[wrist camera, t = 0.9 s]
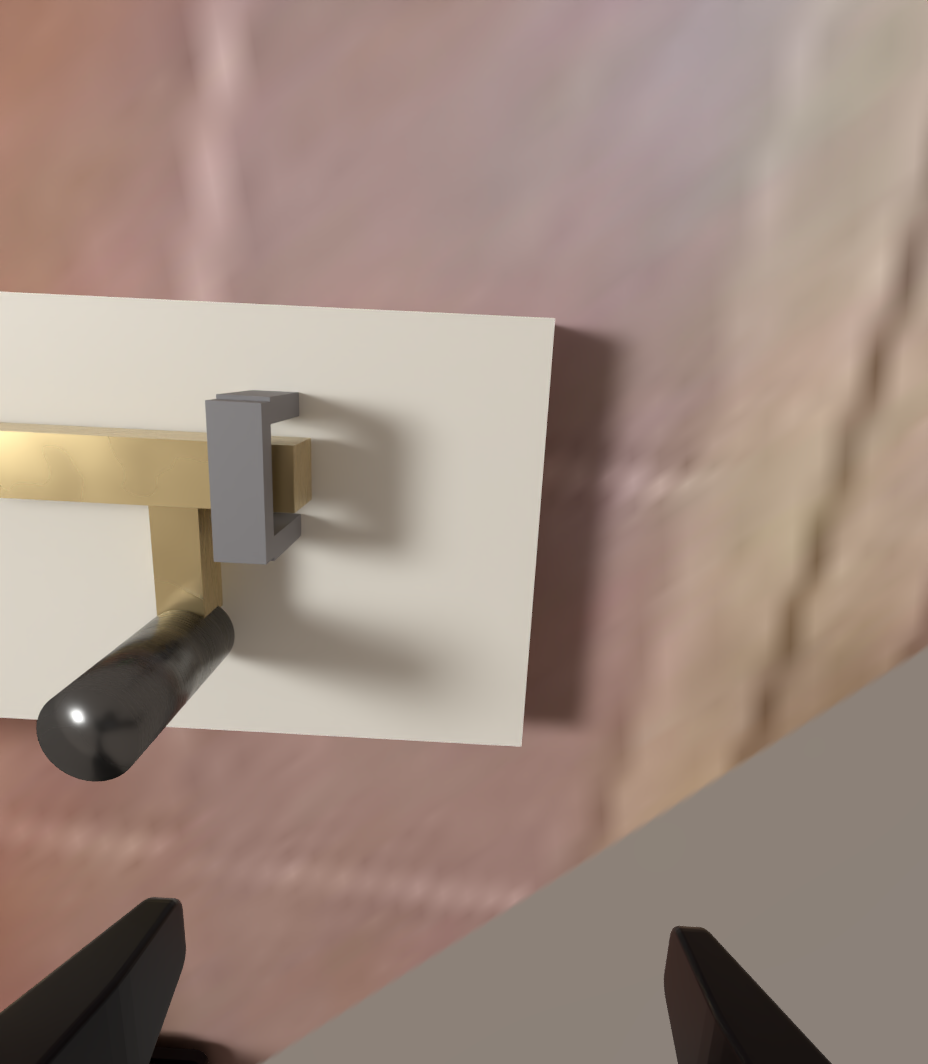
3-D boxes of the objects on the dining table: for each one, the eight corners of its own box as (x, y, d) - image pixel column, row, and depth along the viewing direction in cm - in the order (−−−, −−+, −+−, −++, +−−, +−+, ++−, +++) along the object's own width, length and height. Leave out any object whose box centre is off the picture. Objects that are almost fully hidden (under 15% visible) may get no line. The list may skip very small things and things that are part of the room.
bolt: (313, 663, 18) (244, 789, 13) (-40, 644, 18) (-257, 761, 13) (310, 438, 16) (229, 473, 11) (-78, 418, 17) (-342, 444, 11)
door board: (517, 711, 21) (530, 829, 16) (-213, 670, 21) (-445, 774, 16) (547, 323, 18) (575, 306, 13) (-306, 282, 18) (-632, 248, 13)
